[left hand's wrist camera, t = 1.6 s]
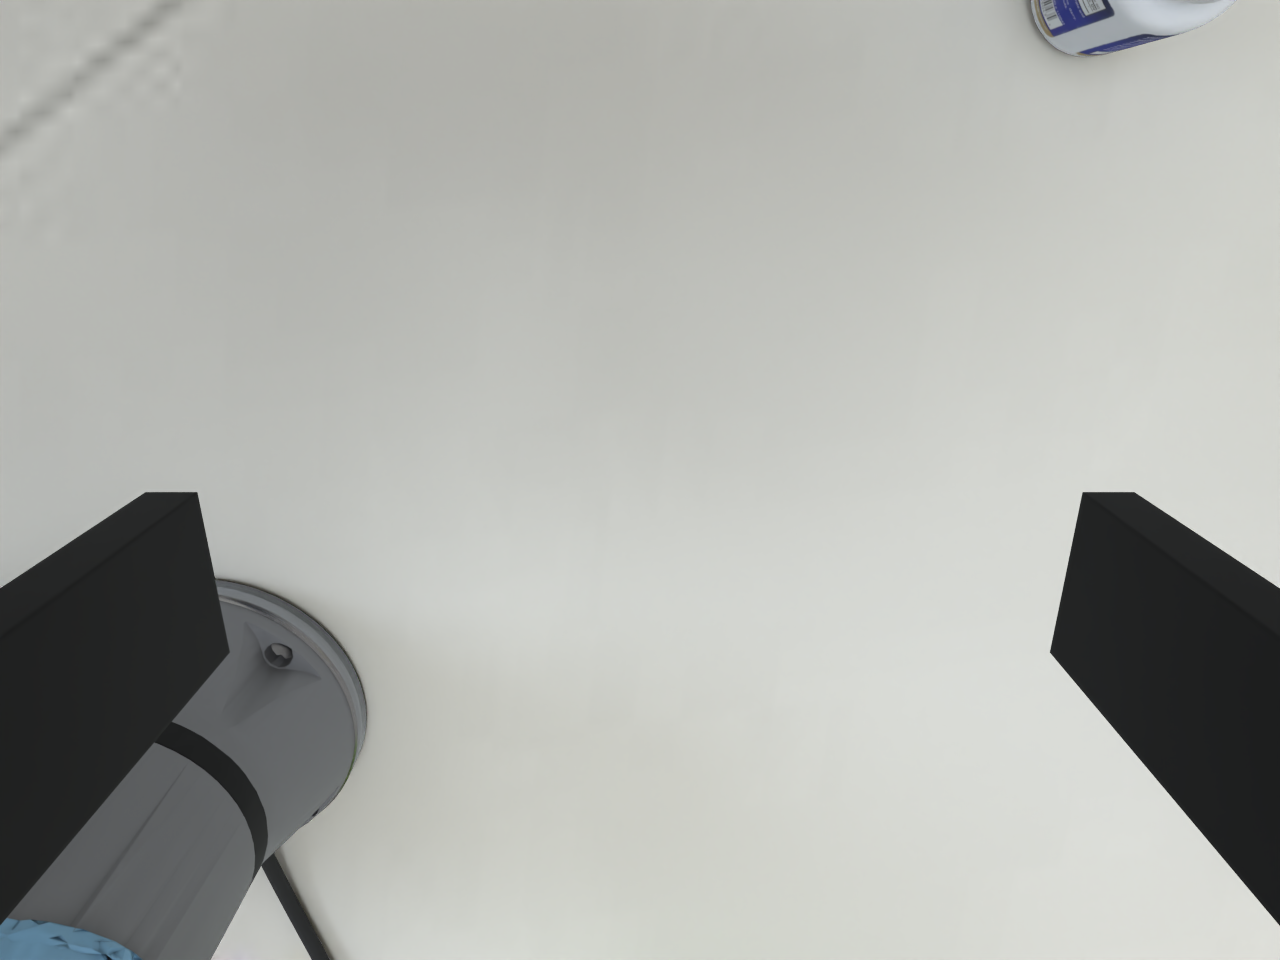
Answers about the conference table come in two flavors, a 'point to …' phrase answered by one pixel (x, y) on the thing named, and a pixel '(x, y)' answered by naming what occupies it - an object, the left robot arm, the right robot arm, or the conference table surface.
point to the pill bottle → (1119, 22)
